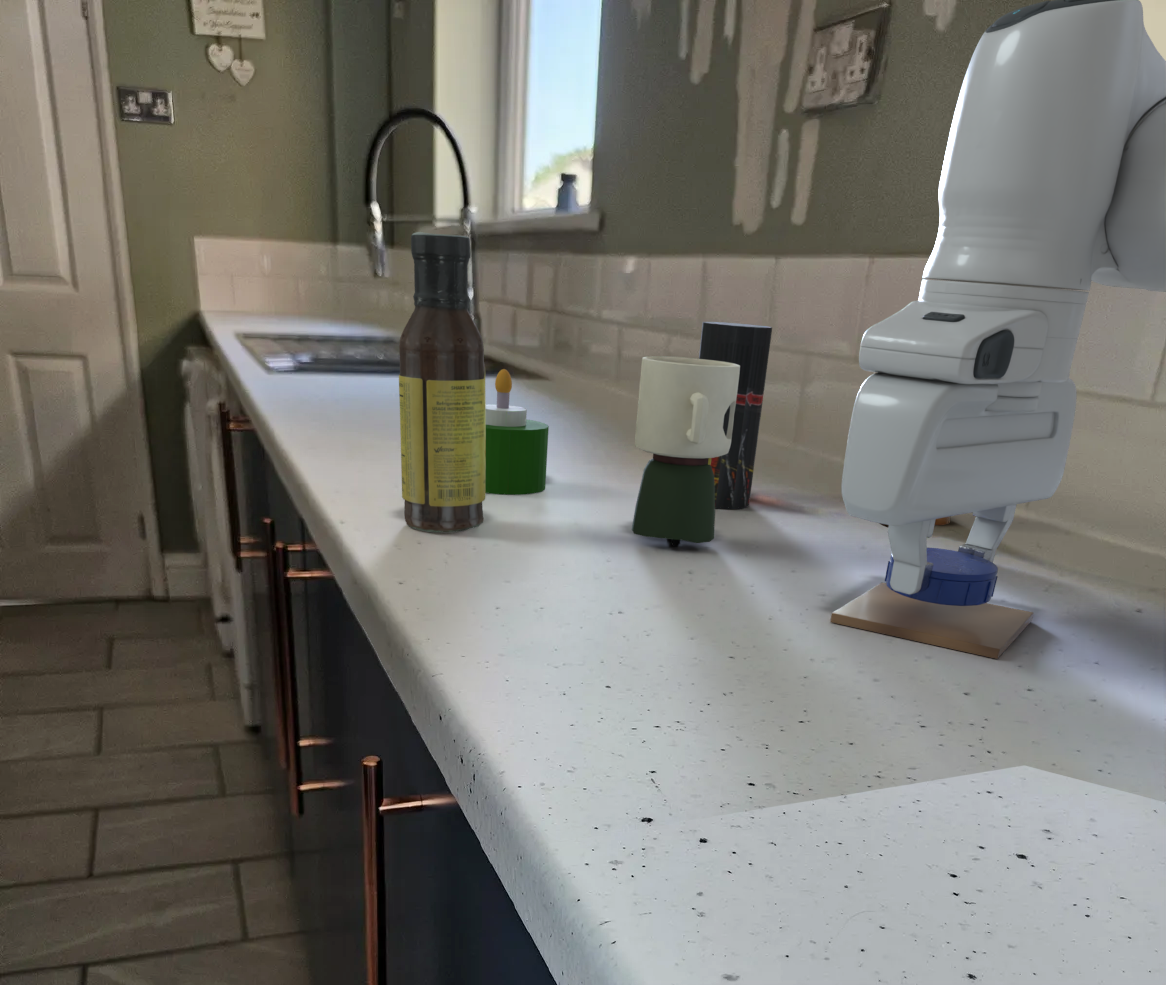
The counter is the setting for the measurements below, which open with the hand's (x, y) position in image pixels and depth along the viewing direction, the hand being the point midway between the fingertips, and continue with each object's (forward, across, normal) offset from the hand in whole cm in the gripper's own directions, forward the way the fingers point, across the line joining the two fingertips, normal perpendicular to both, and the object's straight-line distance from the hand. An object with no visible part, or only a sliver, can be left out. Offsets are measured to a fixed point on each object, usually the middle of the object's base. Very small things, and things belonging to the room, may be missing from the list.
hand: (940, 582), depth 67 cm
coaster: (+2, 0, 0) cm, 3 cm away
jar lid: (-1, 0, 0) cm, 1 cm away
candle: (+3, -3, -46) cm, 46 cm away
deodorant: (+3, -17, -32) cm, 36 cm away
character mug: (+3, -1, -23) cm, 23 cm away
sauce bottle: (+3, +12, -35) cm, 37 cm away
